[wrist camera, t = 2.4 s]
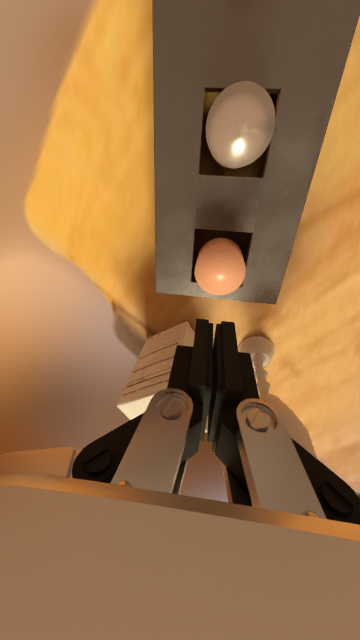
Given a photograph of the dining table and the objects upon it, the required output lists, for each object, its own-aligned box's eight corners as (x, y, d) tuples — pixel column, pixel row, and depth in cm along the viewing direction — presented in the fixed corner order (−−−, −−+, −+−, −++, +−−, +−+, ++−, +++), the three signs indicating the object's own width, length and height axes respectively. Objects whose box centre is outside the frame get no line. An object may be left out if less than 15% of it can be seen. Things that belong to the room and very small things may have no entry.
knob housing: (363, -114, 15) (440, -265, 10) (265, 281, 28) (275, 304, 23) (172, -102, 16) (149, -232, 11) (166, 272, 30) (156, 292, 24)
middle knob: (272, 96, 15) (283, 81, 13) (259, 169, 17) (266, 169, 15) (210, 95, 16) (209, 80, 13) (205, 167, 18) (202, 166, 15)
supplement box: (212, 356, 36) (210, 434, 25) (171, 370, 38) (152, 447, 28) (188, 318, 33) (173, 388, 22) (145, 337, 35) (113, 407, 25)
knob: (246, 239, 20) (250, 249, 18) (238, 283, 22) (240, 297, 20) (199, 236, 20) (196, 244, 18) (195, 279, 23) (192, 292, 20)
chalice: (262, 320, 31) (303, 460, 16) (292, 351, 33) (355, 502, 18) (220, 349, 35) (220, 486, 19) (249, 376, 36) (271, 520, 21)
